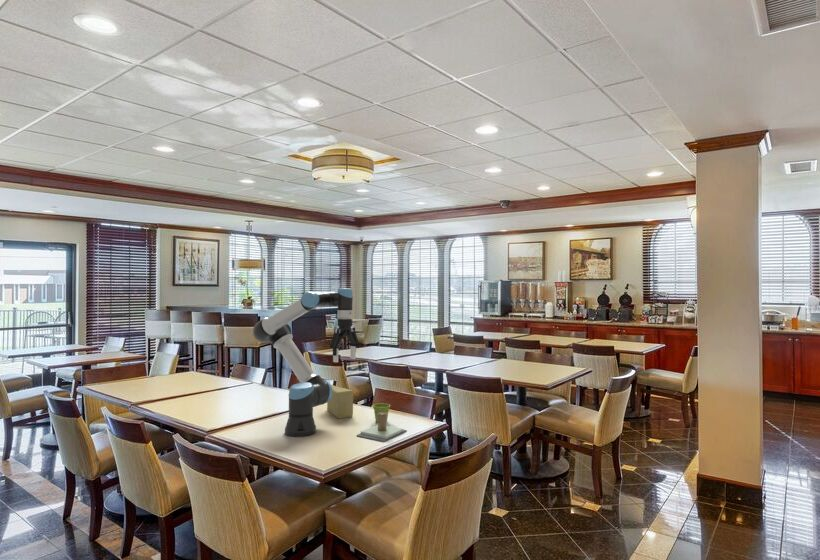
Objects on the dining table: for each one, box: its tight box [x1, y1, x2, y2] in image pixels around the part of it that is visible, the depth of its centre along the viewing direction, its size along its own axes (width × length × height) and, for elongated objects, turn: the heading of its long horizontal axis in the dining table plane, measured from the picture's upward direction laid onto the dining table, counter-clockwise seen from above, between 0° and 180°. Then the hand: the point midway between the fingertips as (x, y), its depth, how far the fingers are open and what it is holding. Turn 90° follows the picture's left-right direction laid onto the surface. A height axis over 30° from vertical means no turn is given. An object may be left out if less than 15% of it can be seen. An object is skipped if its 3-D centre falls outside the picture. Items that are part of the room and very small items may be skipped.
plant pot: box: [372, 403, 391, 423], centre depth 254 cm, size 9×9×9 cm
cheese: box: [326, 384, 354, 420], centre depth 270 cm, size 22×10×15 cm, turn 35°
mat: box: [356, 429, 408, 443], centre depth 232 cm, size 20×16×1 cm
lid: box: [360, 413, 404, 439], centre depth 232 cm, size 15×15×9 cm
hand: (344, 360), depth 239 cm, fingers open, 13 cm apart
